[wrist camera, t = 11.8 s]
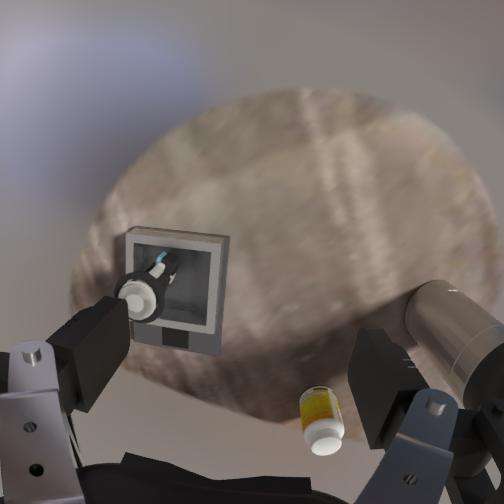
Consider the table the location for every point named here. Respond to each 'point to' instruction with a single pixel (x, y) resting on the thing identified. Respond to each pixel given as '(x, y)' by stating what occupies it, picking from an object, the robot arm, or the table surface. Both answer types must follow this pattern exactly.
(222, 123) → the table surface
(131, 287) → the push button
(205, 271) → the gray open box
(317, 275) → the table surface
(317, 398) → the supplement bottle
